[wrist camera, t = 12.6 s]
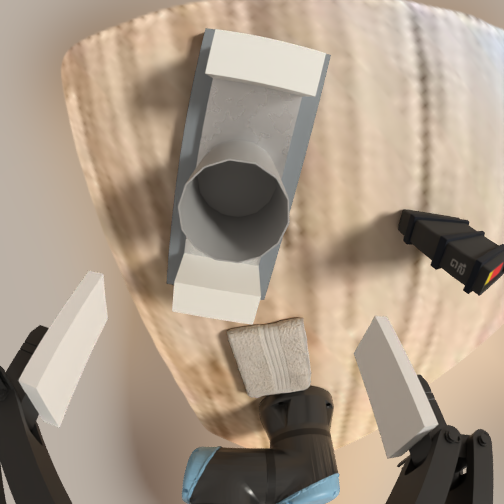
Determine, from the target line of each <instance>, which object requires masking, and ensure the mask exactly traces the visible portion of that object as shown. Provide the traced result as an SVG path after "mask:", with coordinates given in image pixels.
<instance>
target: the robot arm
mask: <svg viewBox="0 0 504 504" xmlns="http://www.w3.org/2000/svg"><path fill="white" fill-rule="evenodd" d="M107 319H108V316H107V308H106V299H105V288H104V277H103V274H102V273H98V272H93V271H88V273H87V274H86V275H85V277H84V278H83V279H82V281H81V282H80V283H79V285H78V286H77V288H76V289H75V290H74V292H73V293H72V295H71V296H70V298H69V299H68V301H67V302H66V303H65V305H64V306H63V308H62V309H61V311H60V312H59V314H58V315H57V317H56V318H55V320H54V321H53V323H52V324H51V326H50V328H47V327H44V326H41V325H40V326H38V327H37V328H36V329H34V330H33V331H32V332H31V333H30V334H29V335H28V337H27V339H26V340H25V343H23V345H22V346H21V348H20V350H19V351H18V353H17V354H16V356H15V358H14V359H13V361H12V363H11V364H10V366H9V368H8V369H7V371H6V372H5V370H4V369H3V368H2V367H1V366H0V461H1V465H2V468H3V471H4V473H5V477H6V479H7V482H8V485H9V488H10V490H11V493H12V495H13V498H14V500H15V503H16V504H72V502H71V500H70V498H69V496H68V494H67V493H66V491H65V489H64V487H63V484H62V482H61V480H60V478H59V476H58V474H57V472H56V470H55V467H54V465H53V463H52V460H51V458H50V456H49V453H48V451H47V449H46V446H45V443H44V441H43V438H42V435H41V432H40V429H39V426H38V424H37V422H36V420H37V417H38V415H40V417H41V418H42V419H43V421H44V422H46V423H49V424H51V425H54V426H56V427H59V428H60V426H61V423H62V421H63V418H64V416H65V413H66V410H67V408H68V405H69V403H70V400H71V398H72V395H73V393H74V391H75V388H76V386H77V383H78V381H79V379H80V377H81V374H82V372H83V370H84V367H85V365H86V363H87V361H88V359H89V357H90V354H91V352H92V350H93V348H94V346H95V344H96V341H97V340H98V337H99V335H100V333H101V331H102V329H103V327H104V325H105V323H106V321H107ZM354 355H355V358H356V361H357V364H358V367H359V370H360V373H361V376H362V379H363V381H364V384H365V387H366V391H367V394H368V397H369V400H370V403H371V406H372V409H373V412H374V415H375V419H376V422H377V425H378V428H379V432H380V435H381V438H382V442H383V445H384V449H385V452H386V456H387V458H394V457H399V456H402V455H403V454H404V453H405V452H407V451H408V450H409V452H410V455H409V456H408V457H407V458H405V459H404V460H403V461H401V462H400V463H399V464H398V466H397V467H400V466H401V465H403V464H404V463H405V464H404V466H403V467H402V470H401V473H400V475H399V477H398V479H397V482H396V484H395V486H394V488H393V490H392V492H391V494H390V496H389V498H388V500H387V502H386V504H493V455H492V442H491V438H490V436H489V434H488V433H487V432H486V431H484V430H482V429H478V430H477V431H475V432H474V433H473V434H472V435H462V434H460V433H459V431H458V430H457V429H456V428H455V427H453V426H450V425H447V424H446V422H445V420H444V418H443V415H442V413H441V411H440V409H439V406H438V404H437V402H436V400H435V398H434V395H433V393H431V389H430V387H429V385H428V383H427V381H426V380H425V379H424V378H423V377H422V376H421V375H416V373H415V371H414V369H413V366H412V364H411V362H410V360H409V358H408V356H407V354H406V352H405V350H404V348H403V346H402V344H401V342H400V340H399V338H398V336H397V335H396V333H395V331H394V329H393V327H392V325H391V323H390V321H389V319H388V318H387V317H384V316H375V317H374V318H373V320H372V322H371V324H370V326H369V328H368V329H367V331H366V333H365V335H364V336H363V338H362V340H361V342H360V343H359V345H358V347H357V349H356V350H355V352H354ZM333 409H334V405H333V400H332V396H331V394H330V393H329V392H328V391H326V390H324V389H322V388H319V387H314V386H309V388H307V389H305V390H301V391H296V392H290V393H280V394H271V395H269V396H267V397H266V398H265V399H264V400H263V401H262V402H261V403H260V406H259V415H260V420H261V422H262V424H263V427H264V429H265V431H266V433H267V435H268V438H269V440H270V448H266V449H264V448H223V447H221V446H218V447H199V448H197V449H195V450H194V451H193V452H192V454H191V456H190V458H189V460H188V463H187V467H186V470H185V475H184V480H183V491H182V499H183V501H184V502H186V503H187V504H190V503H191V504H325V503H328V502H330V501H332V500H333V499H335V498H336V497H337V496H338V494H339V492H340V486H339V478H338V477H339V473H338V470H337V465H336V460H335V454H334V449H333V444H332V440H331V435H330V428H331V422H332V416H333ZM1 465H0V504H6V500H5V494H4V488H3V481H2V473H1ZM466 467H467V469H466V473H465V474H463V469H464V468H466Z"/></svg>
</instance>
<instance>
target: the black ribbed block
mask: <svg viewBox="0 0 504 504" xmlns="http://www.w3.org/2000/svg"><path fill="white" fill-rule="evenodd" d="M398 230H399V231H400V232H401V233H402V234H403V235H404V239H403V241H404V242H405V243H406V244H413V245H415V246H416V247H417V248H418V249H419V250H420V251H421V252H422V253H424V254H425V255H426V256H427V257H429V258H430V259H431V260H432V262H431V266H432V267H433V268H435V269H436V270H437V269H440V268H442V269H444V270H445V271H446V272H447V273H449V274H450V275H451V276H452V277H454V278H455V279H457V280H458V281H460V282H461V283H462V284H464V285H465V287H464V289H463V291H465V292H466V293H467V294H469V293H470V292H472V291H474V292H475V293H476V294H478V295H479V296H480V295H481V294H482V293H483V292H484V291H486V290H487V289H488V288H489V287H490V286H491V285H492V284H493V283H494V282H495V281H497V280H498V279H499V278H500V277H501V276H502V275H503V274H504V244H502V245H500V246H499V245H497V244H495V243H494V242H492V241H490V240H489V239H487V238H486V237H485V236H484V234H485V232H483V231H476V230H474V229H473V228H471V227H470V226H469V221H468V220H462V219H459V218H456V217H450V216H444V215H438V214H432V213H425V212H419V211H412V210H403V212H402V215H401V219H400V223H399V227H398Z"/></svg>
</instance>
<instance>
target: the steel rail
mask: <svg viewBox="0 0 504 504" xmlns="http://www.w3.org/2000/svg"><path fill="white" fill-rule="evenodd" d="M301 99H302V96H298V95H294V94H290V93H286V92H282V91H278V90H273V89H269V88H264V87H260V86H255V85H250V84H245V83H239V82H233V81H228V80H221V79H215V78H213V80H212V85H211V90H210V95H209V99H208V104H207V109H206V114H205V120H204V125H203V130H202V136H201V141H200V147H199V153H198V159H197V165H196V167H197V166H198V164H199V163H200V162H201V160H202V159H203V157H204V156H205V155H206V154H207V153H208V152H210V151H211V150H212V149H213V148H214V147H215V146H216V145H218V144H221V143H224V142H228V141H231V140H241V141H247V142H253V143H255V144H256V145H257V146H259V147H260V148H262V149H263V150H265V151H266V152H268V154H269V156H270V158H271V159H272V161H273V163H274V165H275V167H276V169H277V171H278V173H279V176H280V178H281V179H282V175H283V171H284V167H285V163H286V159H287V155H288V151H289V147H290V143H291V139H292V135H293V131H294V127H295V123H296V119H297V115H298V111H299V107H300V103H301ZM184 253H187V254H192V255H198V256H203V257H209V256H207V255H205V254H204V253H202V252H200V251H199V250H197V249H195V248H194V246H193V245H192V244H191V242H190V241H189V239H188V238H187V237H186V242H185V251H184ZM209 258H210V257H209ZM260 259H261V258H257V259H253V260H249V261H245V262H241V263H243V264H249V265H255V266H259V263H260Z"/></svg>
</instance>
